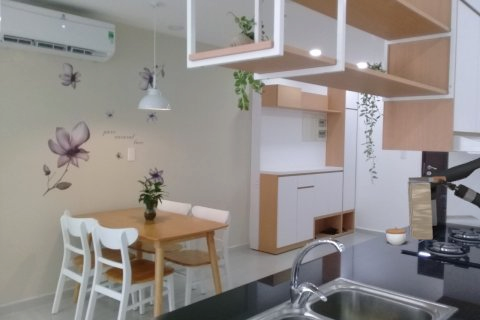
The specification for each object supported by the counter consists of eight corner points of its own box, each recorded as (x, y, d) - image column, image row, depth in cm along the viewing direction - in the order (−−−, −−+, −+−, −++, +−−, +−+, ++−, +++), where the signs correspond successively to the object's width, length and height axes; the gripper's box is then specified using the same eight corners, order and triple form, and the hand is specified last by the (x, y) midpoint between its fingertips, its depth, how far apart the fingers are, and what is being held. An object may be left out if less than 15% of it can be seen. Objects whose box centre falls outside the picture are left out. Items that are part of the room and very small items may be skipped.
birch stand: (410, 234, 258) (407, 177, 258) (427, 234, 256) (425, 176, 256) (414, 239, 244) (411, 178, 243) (432, 239, 241) (430, 178, 241)
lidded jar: (392, 241, 242) (392, 224, 242) (410, 243, 234) (409, 226, 233) (382, 244, 235) (381, 227, 235) (400, 247, 227) (399, 229, 227)
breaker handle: (410, 182, 252) (410, 177, 252) (444, 181, 248) (444, 176, 248) (411, 183, 249) (411, 178, 249) (446, 182, 244) (445, 176, 244)
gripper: (465, 186, 250) (438, 173, 253) (472, 188, 236) (444, 175, 240) (458, 197, 251) (432, 184, 254) (465, 200, 237) (437, 186, 240)
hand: (438, 179), depth 247 cm, fingers open, 8 cm apart
